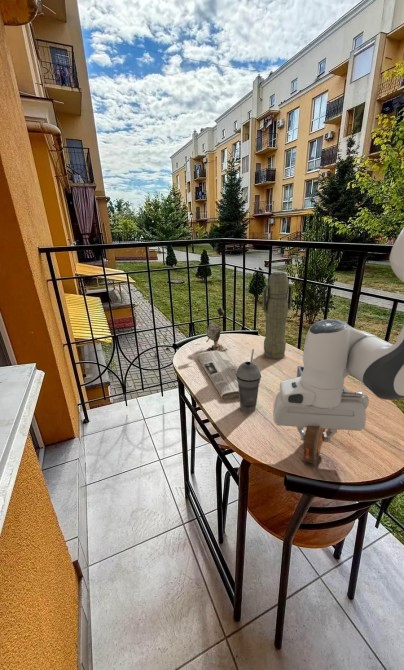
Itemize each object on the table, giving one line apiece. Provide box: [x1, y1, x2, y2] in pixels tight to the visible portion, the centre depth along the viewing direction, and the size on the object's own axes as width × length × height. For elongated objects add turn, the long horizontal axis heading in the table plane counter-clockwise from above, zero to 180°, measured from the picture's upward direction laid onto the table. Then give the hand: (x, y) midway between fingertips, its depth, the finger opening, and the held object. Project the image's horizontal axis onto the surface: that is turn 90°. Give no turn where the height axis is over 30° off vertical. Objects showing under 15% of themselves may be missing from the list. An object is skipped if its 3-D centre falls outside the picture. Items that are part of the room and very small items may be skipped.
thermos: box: [261, 271, 294, 361], centre depth 115 cm, size 9×12×35 cm
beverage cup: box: [236, 348, 262, 414], centre depth 82 cm, size 7×7×20 cm
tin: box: [302, 426, 326, 465], centre depth 68 cm, size 15×3×8 cm, turn 148°
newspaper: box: [196, 350, 239, 400], centre depth 106 cm, size 35×12×4 cm, turn 15°
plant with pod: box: [205, 306, 228, 352], centre depth 126 cm, size 8×11×20 cm
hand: (314, 439), depth 68 cm, fingers open, 4 cm apart
